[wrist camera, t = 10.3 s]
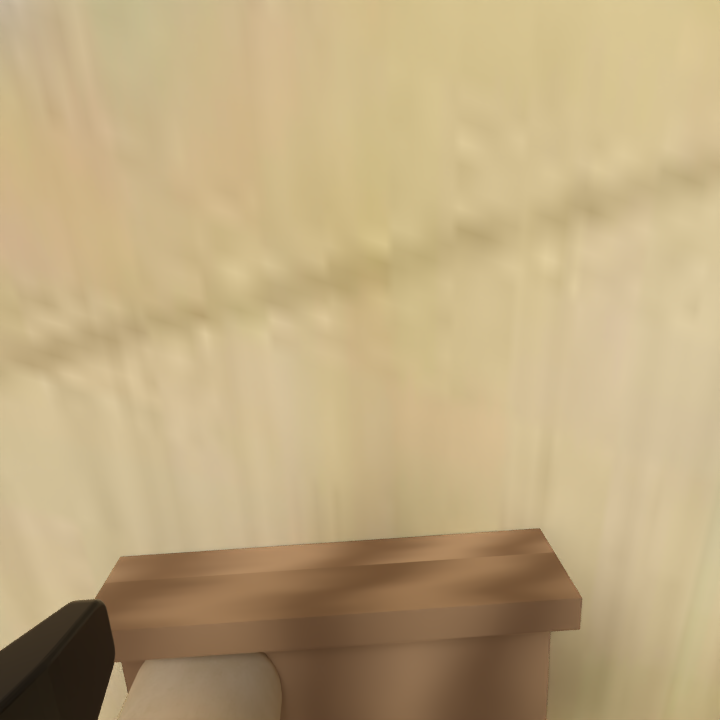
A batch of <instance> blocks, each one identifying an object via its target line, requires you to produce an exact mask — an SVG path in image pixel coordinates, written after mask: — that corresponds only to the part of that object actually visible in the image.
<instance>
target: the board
mask: <svg viewBox="0 0 720 720" xmlns="http://www.w3.org/2000/svg"><path fill="white" fill-rule="evenodd" d="M95 599H100V600H101V601H103V602H104V603H105V605H106V608H107V612H108V616H109V621H110V626H111V630H112V635H113V640H114V645H115V660H114V662H121V663H122V667H123V672H124V677H125V682H126V686H127V691H128V693H129V691H130V688H131V686H132V684H133V682H134V680H135V678H136V675H137V673H138V671H139V669H140V668H141V666H142V665H143V663H144V662H145V660H155V659H169V658H183V657H197V656H211V655H225V654H239V653H253V652H263V653H265V655H266V656H267V657H268V658H269V659H270V660H271V662H272V663H273V665H274V666H275V668H276V670H277V672H278V675H279V678H280V683H281V692H282V703H281V714H280V720H546V713H547V692H548V671H549V651H550V631H563V630H577V629H580V622H581V607H582V597H581V595H580V594H579V592H578V590H577V589H576V587H575V586H574V584H573V582H572V581H571V579H570V577H569V576H568V574H567V572H566V571H565V569H564V567H563V566H562V564H561V562H560V561H559V559H558V558H557V556H556V554H555V553H554V551H553V549H552V548H551V546H550V544H549V543H548V541H547V539H546V538H545V536H544V534H543V533H542V531H541V530H540V529H526V530H511V531H496V532H482V533H467V534H452V535H437V536H422V537H408V538H393V539H378V540H363V541H348V542H334V543H319V544H304V545H289V546H275V547H260V548H245V549H230V550H215V551H201V552H186V553H171V554H156V555H141V556H127V557H120V559H119V560H118V562H117V563H116V565H115V567H114V568H113V570H112V572H111V573H110V575H109V577H108V578H107V580H106V581H105V583H104V585H103V586H102V588H101V590H100V591H99V593H98V594H97V596H96V598H95Z"/></svg>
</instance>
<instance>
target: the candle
mask: <svg viewBox="0 0 720 720" xmlns="http://www.w3.org/2000/svg"><path fill="white" fill-rule="evenodd" d="M281 703H282V692H281V683H280V678H279V675H278V672H277V670H276V668H275V666H274V665H273V663H272V662H271V660H270V659H269V658H268V657H267V656H266V655H265V653H263V652H253V653H239V654H225V655H211V656H197V657H183V658H169V659H155V660H145V662H144V663H143V665H142V666H141V668H140V669H139V671H138V673H137V675H136V678H135V680H134V682H133V684H132V686H131V688H130V691H129V693H128V695H127V697H126V700H125V702H124V704H123V707H122V709H121V711H120V714H119V716H118V718H117V720H280V714H281Z"/></svg>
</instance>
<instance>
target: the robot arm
mask: <svg viewBox="0 0 720 720" xmlns="http://www.w3.org/2000/svg"><path fill="white" fill-rule="evenodd" d="M114 660H115V645H114V640H113V635H112V630H111V626H110V621H109V616H108V612H107V608H106V605H105V603H104V602H103V601H101V600H100V599H91V600H77V601H72V602H70V603H68V604H67V605H65V606H64V607H62V608H61V609H60V610H58V611H57V612H55V613H54V614H52V615H51V616H49V617H48V618H47V619H45V620H44V621H42V622H41V623H39V624H38V625H37V626H35V627H34V628H32V629H31V630H29V631H28V632H27V633H25V634H24V635H22V636H21V637H19V638H18V639H17V640H15V641H14V642H12V643H11V644H9V645H8V646H6V647H5V648H4V649H2V650H1V651H0V720H98V716H99V713H100V710H101V706H102V703H103V700H104V696H105V693H106V689H107V686H108V683H109V679H110V676H111V673H112V669H113V665H114Z"/></svg>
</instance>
